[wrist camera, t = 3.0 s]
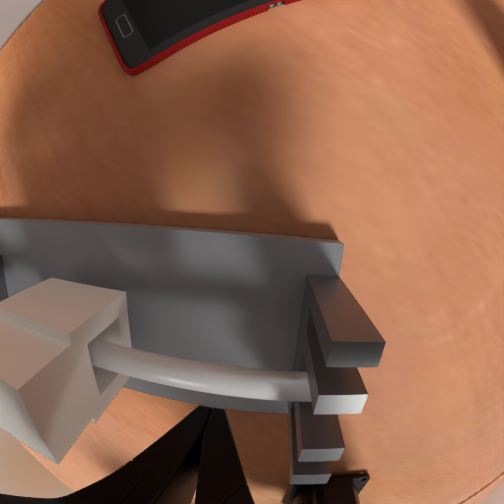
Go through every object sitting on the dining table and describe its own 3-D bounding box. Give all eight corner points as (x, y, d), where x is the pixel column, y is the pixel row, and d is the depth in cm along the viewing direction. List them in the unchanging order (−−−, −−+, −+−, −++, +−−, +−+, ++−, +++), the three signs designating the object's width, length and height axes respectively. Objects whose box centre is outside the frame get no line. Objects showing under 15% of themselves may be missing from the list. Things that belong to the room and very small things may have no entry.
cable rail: (339, 240, 13) (399, 288, 6) (307, 404, 15) (317, 498, 8) (-17, 216, 15) (-80, 230, 8) (0, 329, 17) (-50, 360, 10)
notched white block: (126, 291, 12) (13, 378, 5) (134, 369, 13) (62, 470, 6) (51, 277, 12) (-53, 329, 5) (64, 348, 13) (-15, 417, 6)
